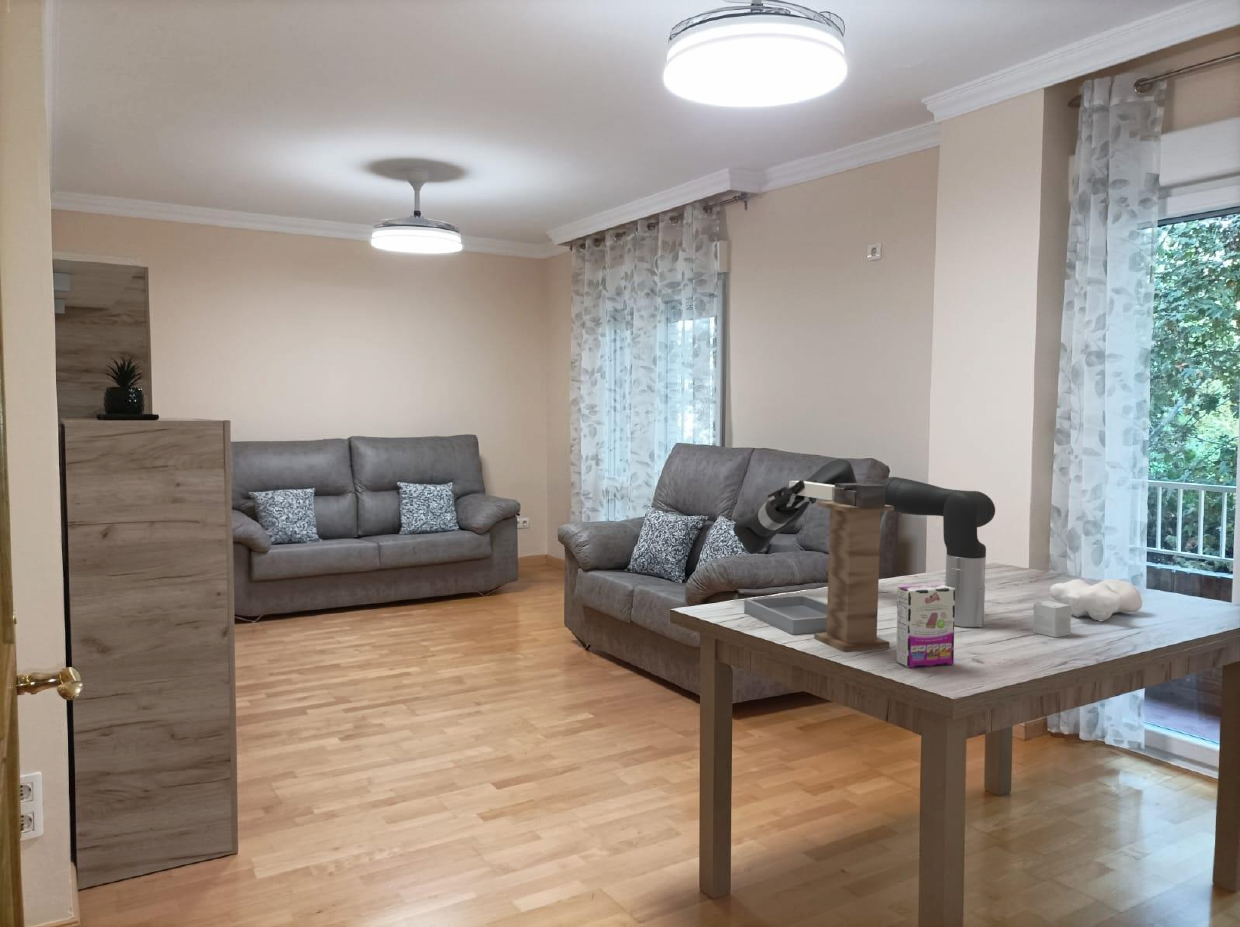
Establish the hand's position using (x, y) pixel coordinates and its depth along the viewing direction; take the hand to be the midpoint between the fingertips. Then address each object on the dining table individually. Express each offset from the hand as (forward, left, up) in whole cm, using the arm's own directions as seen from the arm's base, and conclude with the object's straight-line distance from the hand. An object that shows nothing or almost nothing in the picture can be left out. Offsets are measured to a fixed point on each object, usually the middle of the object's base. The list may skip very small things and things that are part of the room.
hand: (809, 483), depth 226 cm
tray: (+2, -2, -35) cm, 35 cm away
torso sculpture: (-66, -42, -35) cm, 86 cm away
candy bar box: (-31, +23, -35) cm, 52 cm away
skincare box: (-56, -18, -35) cm, 68 cm away
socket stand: (-14, +13, -35) cm, 40 cm away
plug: (-2, +2, -3) cm, 4 cm away
